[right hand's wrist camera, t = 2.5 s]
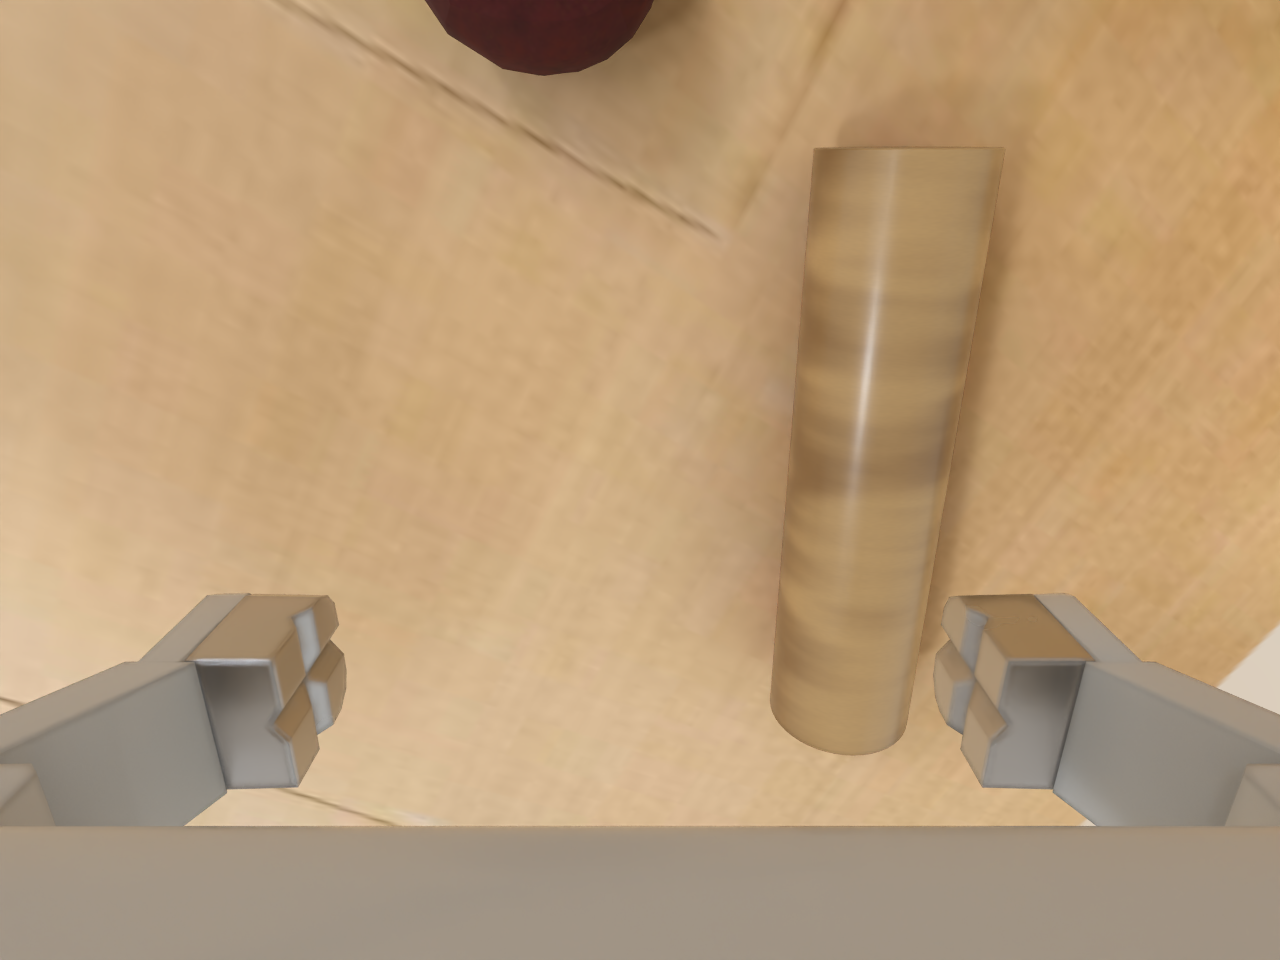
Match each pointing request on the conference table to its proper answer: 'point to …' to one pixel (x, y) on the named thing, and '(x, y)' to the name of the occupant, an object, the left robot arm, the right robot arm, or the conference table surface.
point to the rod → (874, 429)
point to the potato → (542, 30)
